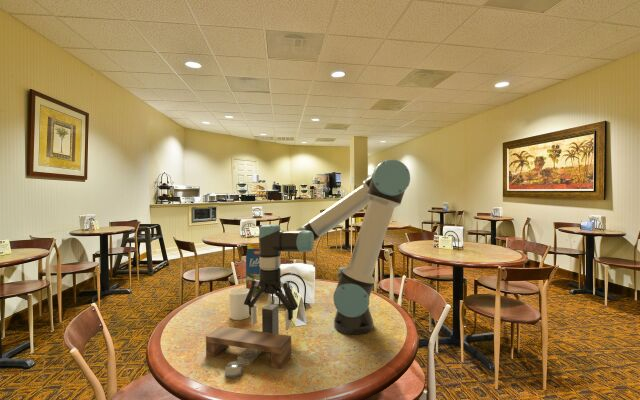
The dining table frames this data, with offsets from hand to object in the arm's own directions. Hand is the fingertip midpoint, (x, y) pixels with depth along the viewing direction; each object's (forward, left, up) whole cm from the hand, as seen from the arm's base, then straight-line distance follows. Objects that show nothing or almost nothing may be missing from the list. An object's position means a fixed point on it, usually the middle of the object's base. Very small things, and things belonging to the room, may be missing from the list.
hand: (270, 326), depth 110 cm
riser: (+1, +14, -4) cm, 14 cm away
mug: (+19, -13, -4) cm, 24 cm away
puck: (0, +24, -4) cm, 24 cm away
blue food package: (+31, -48, -4) cm, 58 cm away
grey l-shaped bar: (0, +8, -4) cm, 9 cm away
